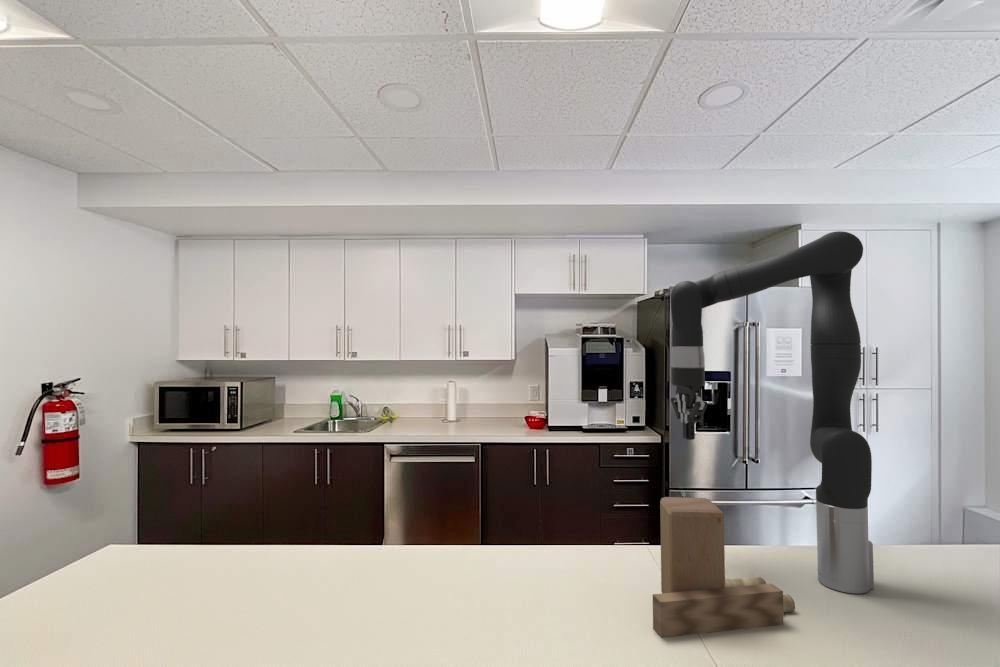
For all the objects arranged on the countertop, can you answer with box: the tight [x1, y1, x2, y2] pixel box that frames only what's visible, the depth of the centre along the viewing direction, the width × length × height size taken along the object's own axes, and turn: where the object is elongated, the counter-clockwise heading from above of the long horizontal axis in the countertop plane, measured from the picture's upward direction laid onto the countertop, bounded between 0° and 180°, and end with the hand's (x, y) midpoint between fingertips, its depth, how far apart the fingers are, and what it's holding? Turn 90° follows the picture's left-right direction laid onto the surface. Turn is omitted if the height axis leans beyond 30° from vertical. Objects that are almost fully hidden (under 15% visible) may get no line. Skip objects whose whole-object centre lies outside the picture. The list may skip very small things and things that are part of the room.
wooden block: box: [659, 496, 726, 594], centre depth 101 cm, size 10×10×20 cm
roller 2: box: [783, 593, 796, 614], centre depth 99 cm, size 10×3×3 cm, turn 100°
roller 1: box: [725, 576, 767, 588], centre depth 106 cm, size 10×3×3 cm
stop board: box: [652, 583, 785, 638], centre depth 93 cm, size 24×3×6 cm, turn 100°
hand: (688, 438), depth 122 cm, fingers closed
